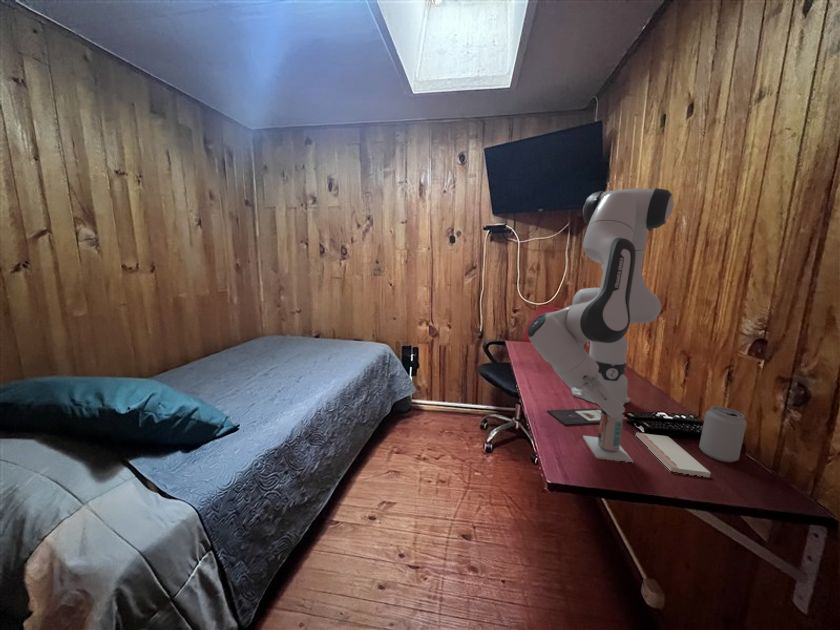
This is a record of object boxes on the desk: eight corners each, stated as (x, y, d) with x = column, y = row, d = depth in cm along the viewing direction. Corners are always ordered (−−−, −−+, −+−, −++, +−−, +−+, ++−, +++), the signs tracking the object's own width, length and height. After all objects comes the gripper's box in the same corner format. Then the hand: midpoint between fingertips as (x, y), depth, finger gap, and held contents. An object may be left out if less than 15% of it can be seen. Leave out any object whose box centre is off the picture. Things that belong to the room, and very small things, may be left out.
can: (732, 467, 78) (742, 420, 76) (693, 451, 84) (702, 407, 82) (742, 459, 82) (752, 413, 80) (704, 444, 88) (713, 402, 86)
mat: (582, 437, 88) (583, 435, 88) (614, 441, 87) (614, 439, 87) (597, 458, 78) (597, 456, 78) (633, 463, 77) (633, 461, 77)
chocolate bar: (546, 410, 103) (596, 408, 106) (546, 413, 103) (596, 411, 107) (565, 424, 94) (618, 421, 98) (564, 427, 94) (617, 424, 98)
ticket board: (635, 436, 90) (636, 432, 90) (667, 440, 89) (668, 435, 89) (670, 472, 74) (671, 467, 74) (709, 477, 73) (710, 472, 73)
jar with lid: (599, 440, 86) (604, 397, 84) (620, 447, 83) (625, 402, 81) (595, 448, 82) (600, 402, 80) (617, 455, 79) (623, 408, 77)
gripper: (606, 376, 70) (648, 424, 70) (575, 352, 90) (608, 390, 90) (581, 393, 71) (623, 441, 71) (557, 366, 91) (589, 403, 91)
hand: (614, 412), depth 81 cm, fingers closed on jar with lid, 5 cm apart
